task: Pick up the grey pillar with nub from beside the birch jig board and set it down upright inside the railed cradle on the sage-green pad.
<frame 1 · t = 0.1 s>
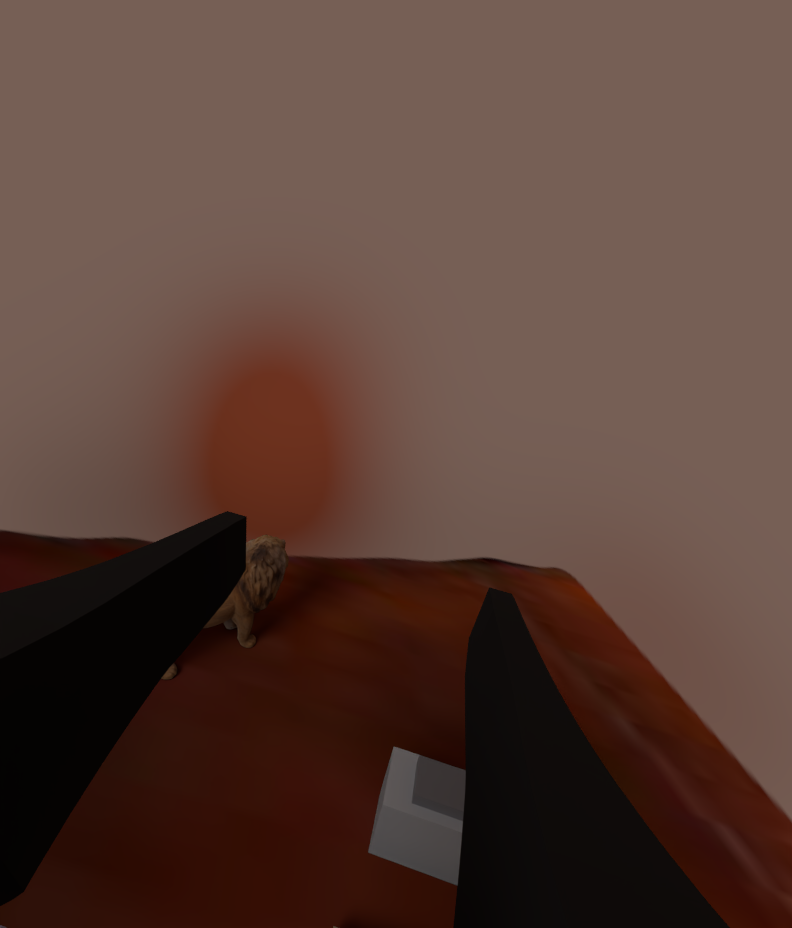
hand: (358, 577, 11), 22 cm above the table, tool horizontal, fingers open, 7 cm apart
lion figurine: (205, 642, 32), on the table
grey pillar with nub: (453, 850, 23), on the table
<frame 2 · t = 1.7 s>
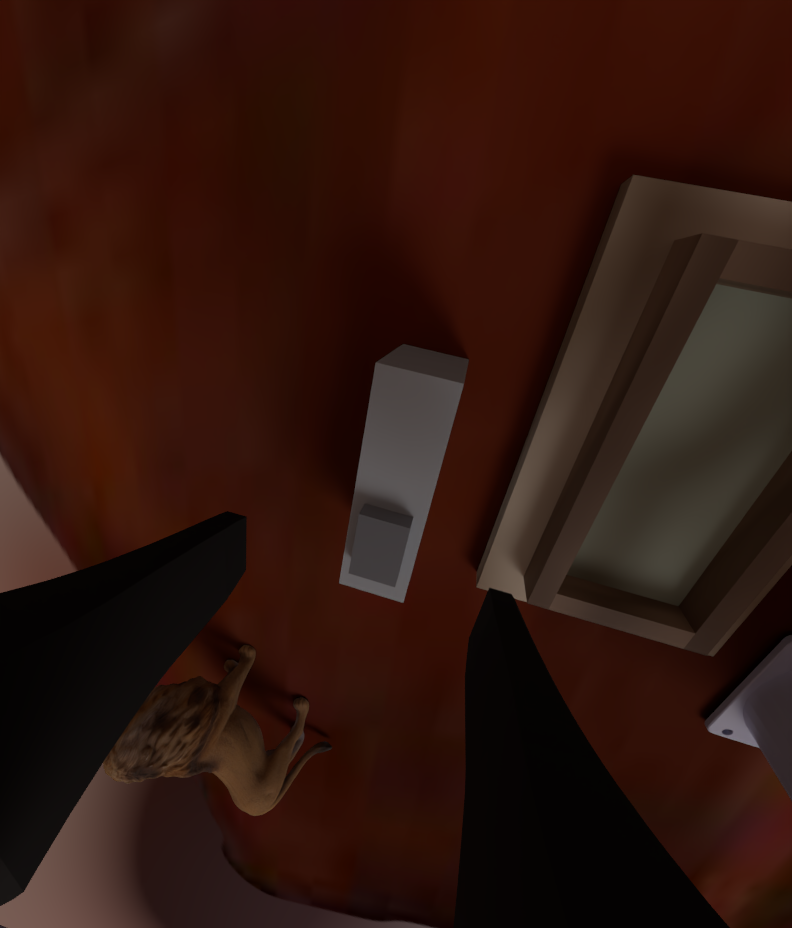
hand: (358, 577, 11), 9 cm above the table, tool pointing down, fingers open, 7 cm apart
cradle jig: (669, 456, 17), on the table
lion figurine: (262, 679, 30), on the table
grey pillar with nub: (412, 450, 19), on the table
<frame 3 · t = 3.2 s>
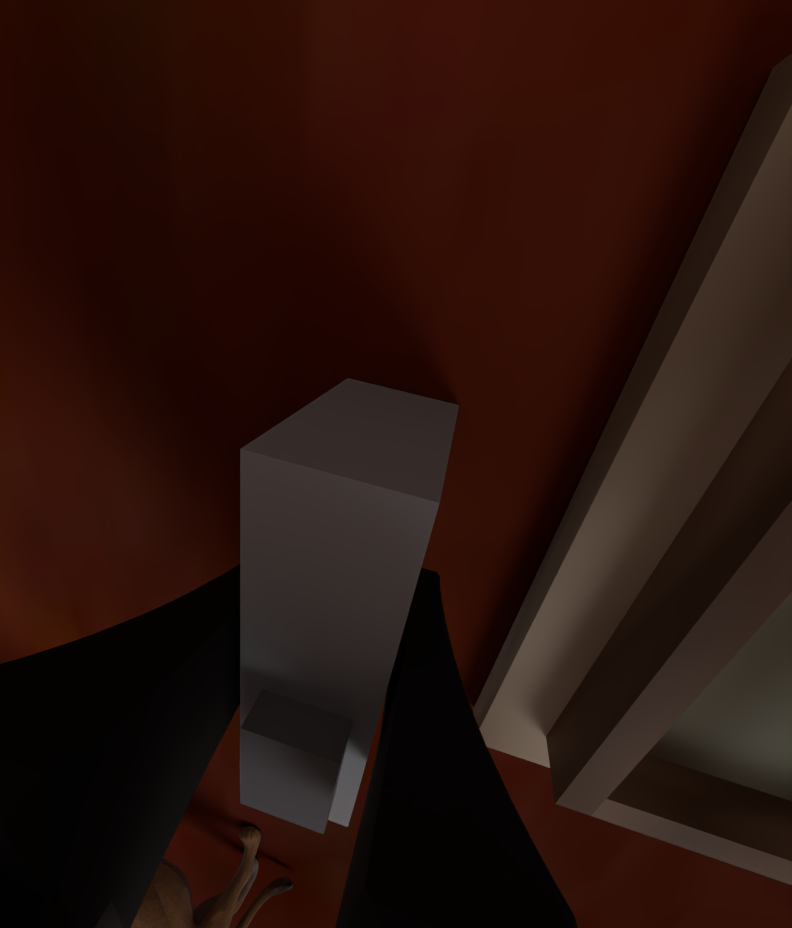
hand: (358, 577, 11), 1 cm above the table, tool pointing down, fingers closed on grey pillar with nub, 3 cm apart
lion figurine: (201, 800, 23), on the table
grey pillar with nub: (372, 542, 12), on the table, touching gripper
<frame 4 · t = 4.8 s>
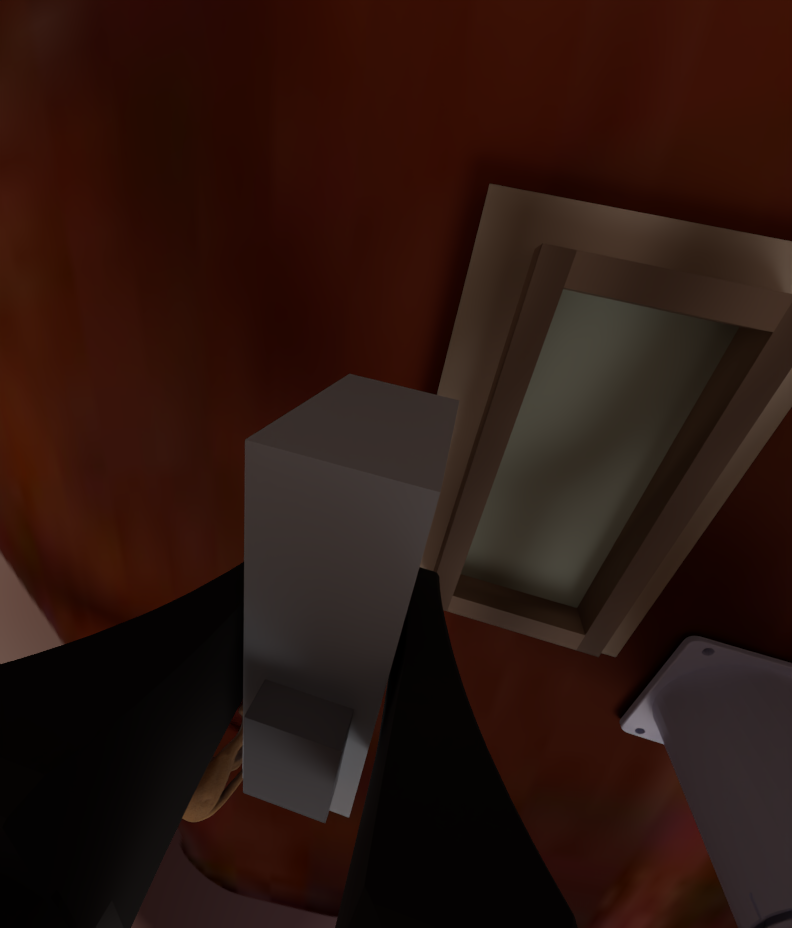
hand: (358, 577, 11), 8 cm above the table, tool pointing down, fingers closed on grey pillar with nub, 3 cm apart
cradle jig: (561, 461, 17), on the table
lion figurine: (209, 687, 30), on the table
grey pillar with nub: (373, 537, 12), point 7 cm above the table, touching gripper
when the fingers open (4 cm above the table, at t = 6.6 s): grey pillar with nub stays where it is, resting on cradle jig.
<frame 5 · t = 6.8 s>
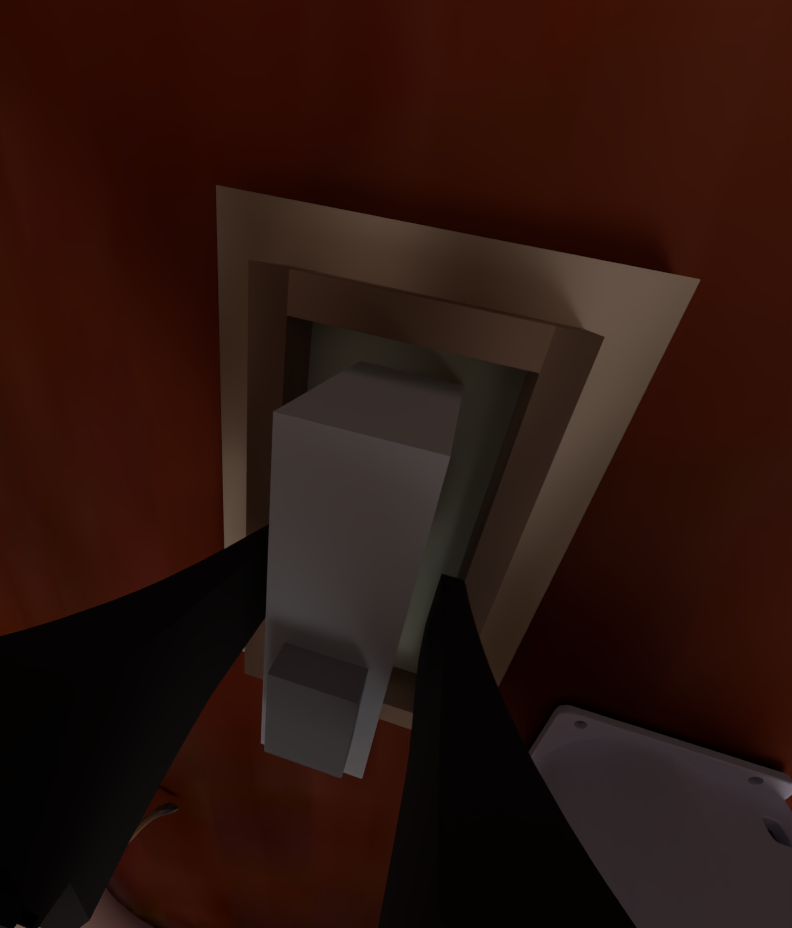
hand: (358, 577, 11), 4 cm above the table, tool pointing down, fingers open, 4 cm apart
cradle jig: (388, 509, 14), on the table
lion figurine: (99, 738, 28), on the table
grey pillar with nub: (382, 518, 13), point 1 cm above the table, touching cradle jig
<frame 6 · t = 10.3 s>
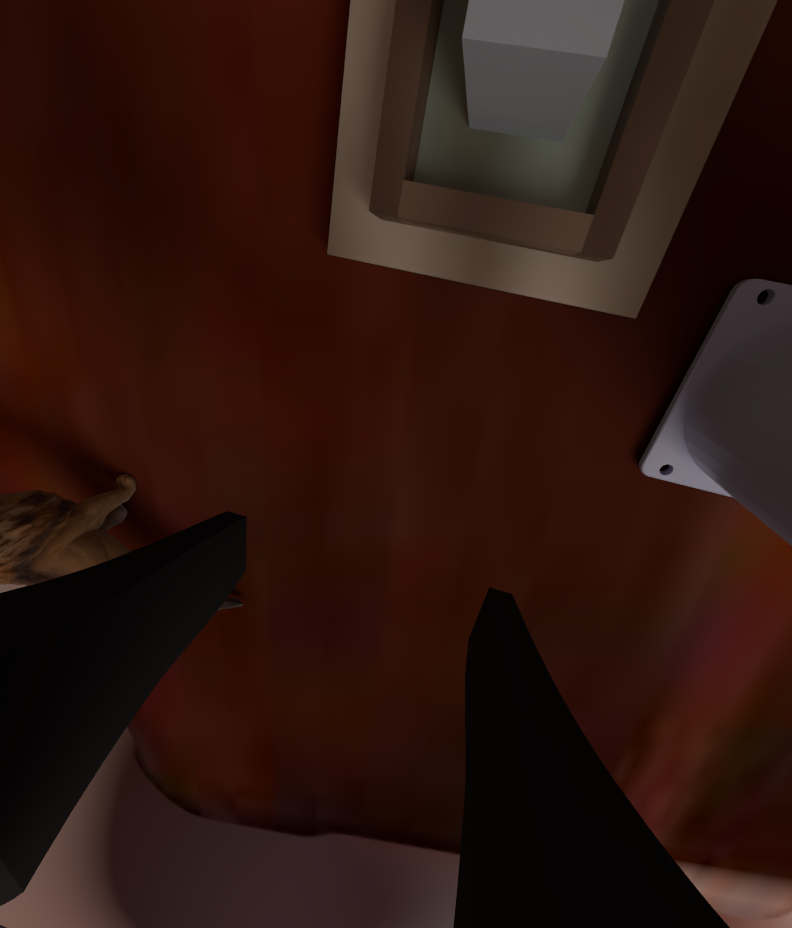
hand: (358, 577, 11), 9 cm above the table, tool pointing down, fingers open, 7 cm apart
lion figurine: (155, 527, 26), on the table
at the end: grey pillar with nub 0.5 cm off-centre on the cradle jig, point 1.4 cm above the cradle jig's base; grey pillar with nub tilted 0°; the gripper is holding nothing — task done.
